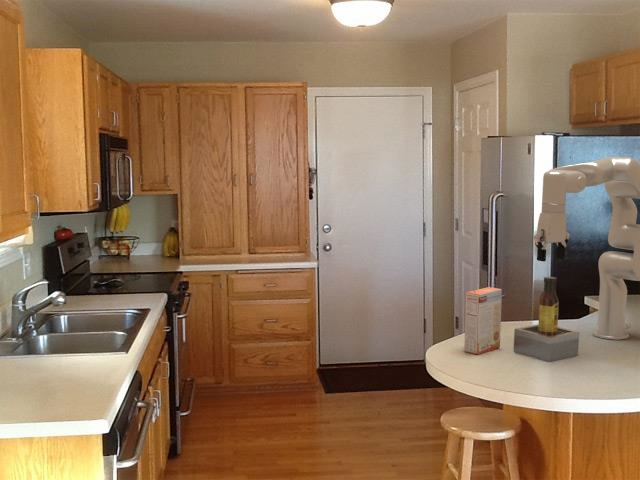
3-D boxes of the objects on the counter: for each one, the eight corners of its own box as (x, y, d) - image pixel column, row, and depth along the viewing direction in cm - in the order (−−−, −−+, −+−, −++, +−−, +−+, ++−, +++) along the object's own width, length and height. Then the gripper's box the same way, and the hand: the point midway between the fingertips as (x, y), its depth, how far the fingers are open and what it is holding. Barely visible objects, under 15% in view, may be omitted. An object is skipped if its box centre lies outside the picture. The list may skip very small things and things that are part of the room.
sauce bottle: (557, 338, 262) (561, 279, 259) (538, 337, 263) (541, 278, 261) (555, 333, 268) (559, 276, 266) (537, 332, 269) (540, 275, 267)
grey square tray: (546, 344, 278) (547, 322, 277) (582, 354, 266) (583, 331, 265) (513, 351, 268) (514, 328, 267) (549, 362, 256) (550, 338, 255)
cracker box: (485, 344, 277) (488, 286, 274) (500, 348, 272) (503, 288, 270) (462, 351, 267) (464, 291, 264) (477, 355, 263) (480, 293, 260)
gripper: (560, 206, 268) (558, 256, 270) (527, 208, 258) (524, 260, 260) (579, 208, 262) (576, 259, 264) (545, 210, 252) (543, 263, 254)
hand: (550, 259), depth 262 cm, fingers open, 9 cm apart
